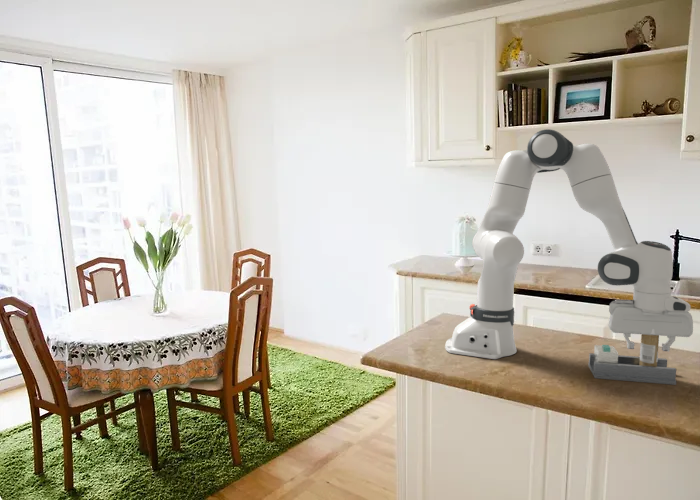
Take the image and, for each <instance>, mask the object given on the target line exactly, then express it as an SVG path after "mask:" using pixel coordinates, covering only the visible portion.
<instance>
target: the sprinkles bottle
mask: <svg viewBox="0 0 700 500" xmlns="http://www.w3.org/2000/svg"><path fill="white" fill-rule="evenodd" d="M654 332H655V331H654V329H652V333H651V334H655V333H654ZM640 335H641V339H640V349H639V357H640V364H639V365H642V366H655V367H657V362H658V358H659V344H660V343H659V341H660V340H659V339H660V335H644V334H640Z"/></svg>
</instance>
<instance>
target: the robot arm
mask: <svg viewBox="0 0 700 500" xmlns="http://www.w3.org/2000/svg"><path fill="white" fill-rule="evenodd" d="M526 147H527V148H526V149H525V150H521V149H519V150H518V149H516V150H514V149H513V150H511V151H508V152H506V153H505V154H504V155H503V157H502V160H501V161H500V163H499V166H498V168H497V171H496V174H495V177H494V181H493V186H492V189H491V193H490V198H489V201H488V205H487V207H486V211H485V213H484V215H483V217H482V220H481V222H480V225H479V226H478V229H477V232H476V233H475V234H474V236H473V238H472V242H471V243H472V244H471V245H472V248H473V251H474V252H475V254H476V256H478V258H479V259H481V260H482V261H483V262H482V269H481V273H480V277H479V279H478V281H477V296H476V299H477V300H476V302H477V303H476V305H475V303H471V304H470V305H469V311H470V313H469V315H470V316H469V317H467V318H466V319H465V320H463V321H462V322H460V323H459V324H457V325H456V326H455V328H454V329H453V332H452V335H451V336H452V337H449V338H448V339H447V340H446V342H445V343H444V344H445V345H444V349H445V350H446V352H448V353H450V354H456V355H463V356H469V357H478V358H484V359H492V360H499V359H500V358H503V357H509V356H512V355H514V354H516V353H517V352H518V351H517V346H516V341H515V335H514V324H515V308H514V290H515V289H514V287H515V280H516V276H517V272H518V267H519V264H520V263H521V262H522V261H523V258H524V256H525V247H524V245H523V243H522V242H521V240H520V239H519V238H518V237H517V235H515V234H513V233H514V231H515V229H516V226H517V225H518V223H519V221H520V220H521V219H522V217H524V215H525V212H526V208H527V204H528V199H529V196H530V192H531V188H532V184H533V180H534V177H535V176H536V174H537V173H539V174H540V173H548V172H555V171H559V170H563V172H565V174H566V175H567V178H568V180H569V181H568V182H569V184H570V187H571V191H572V193H573V197H574V199H575V201H576V202H577V204H578V206H579V208H581V209H582V210H583V211H586V212H587V213H589V214H591V215H592V216H594V217H596V218H597V219H599V220H600V222H601V223H602V224H603V226H604V228H605V230H606V233H607V235H608V237H609V240H610V242H611V244H612V245H611V246H613V247H612V248H613V251H612V252H609V253H607V254H605V255H603V256H602V257H601V258H600V259H599V260H598V264H597V273H598V276H599V278H600V279H601V280H602V281H603V282H604V283H606V284H608V285H611V286H618V287H620V286H629V285H630V286H633V293H632V294H633V296H632V297H633V298H632V299H618V298H617V299H615V300H612V301H611V302H610V303H609V308H608V309H609V310H608V312H609V320H608V328H609V330H610V332H612V333H614V334H622V336H624V337H623V338H624V339H625V340H626V348H627V350H634V349H635V344H636V343H635V342H634V341H631V340H630V338H631V335H642V334H644V335H659V337H660V336H664V337H666V338H667V340H666V342H665V343H663V342H662V343H661V350H662V352H667V353H669V352H671V351H670V350H671V346H672V344H674V342H675V341H676V338H678V337H681V338H690V337H691V336H692V335H693V332H694V319H693V315H692V314H691V313H690V310H691V304H690V303H689V302H687V301H686V300H684V299H682V298H680V297H676V296H674V295H672V290H671V289H672V288H671V280H672V279H673V272H674V269H673V267H674V265H673V264H674V261H673V260H674V258H673V252H672V249H671V248H670V247H669V246H668V245H666V244H664V243H661V242H656V241H652V240H651V241H650V240H643V241H640V242H638V241H637V239H636V236H635V234H634V232H633V229H632V226H631V225H630V222H629V219H628V216H627V214H626V212H625V209H624V207H623V205H622V203H621V199H620V197H619V194H618V190H617V187H616V184H615V181H614V178H613V175H612V172H611V169H610V166H609V164H608V162H607V160H606V157H604V154H603V152H602V150H601V149H600V147H598V146H597V144H594V143H582V144H578V145H574V143H573V142H572V141H570V139H568V138H566V136H564V135H563V134H562V133H560V132H559V131H557V130H555V129H548V128H547V129H542V130H541V129H540V130H539V131H537V132H536V133H534V134H533V135H532V136H531V137H530V139H529V140H528V143H527V146H526ZM652 329H654V331H655V332H654V333H655V334H651V333H652Z"/></svg>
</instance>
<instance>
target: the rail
mask: <svg viewBox="0 0 700 500" xmlns="http://www.w3.org/2000/svg"><path fill="white" fill-rule="evenodd" d="M593 348H594V351H593V353H591V352H590V353H589V355H588V364H587V365H588V366H587V367H588V368H589V370H590V372H591V373H592V376H593V378H594V379H600V380H611V381H612V380H613V381H614V380H615V381H627V382H636V383H650V384H660V385H663V384H664V385H672V386H673V385H675V386H677V380H676V377H677V369H676V367H668V359H667V358H665V357H664V358H663V357H662V358H661V357H658V362H657V367H655V366H642V365H639V364H640V356H633V355H622V354H621V355H619V352H618V351H617V349H616V347H614V345H609V344H602V345H601V344H600V345H599V344H594V347H593Z"/></svg>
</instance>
